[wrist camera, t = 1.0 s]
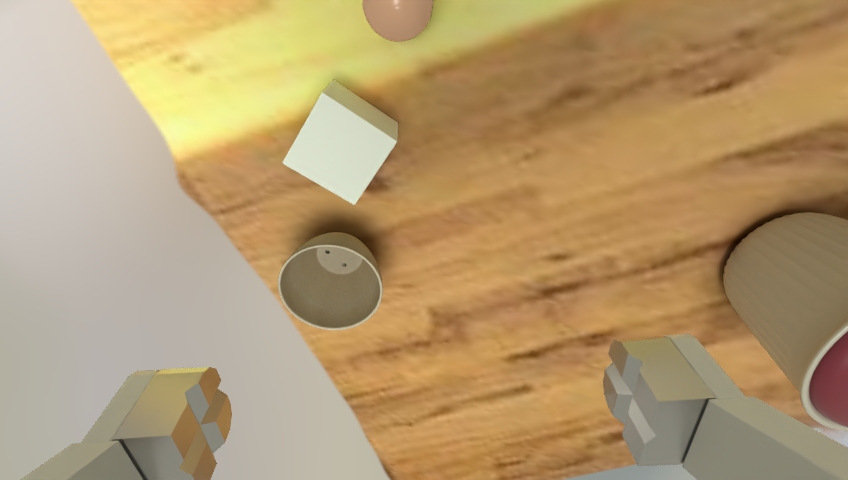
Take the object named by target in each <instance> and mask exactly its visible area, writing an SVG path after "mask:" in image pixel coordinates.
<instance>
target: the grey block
mask: <svg viewBox="0 0 848 480" xmlns="http://www.w3.org/2000/svg"><path fill="white" fill-rule="evenodd" d="M397 137H398V122H396V121H395V120H393V119H392V118H390V117H389V116H387V115H386V114H384V113H383V112H381V111H380V110H378V109H377V108H375V107H374V106H372V105H371V104H369V103H368V102H366V101H365V100H363V99H362V98H360V97H359V96H357V95H356V94H354V93H353V92H351V91H350V90H348V89H347V88H346V87H344V86H343V85H341V84H340V83H338V82H337V81H335V80H334V79H333V80H332V81H331V82H330V83H329V84H328V86H327V87H326V88H325V89H324V91H323V92H322V93H321V95H320V97H319V99H318V100H317V102H316V104H315V106H314V108H313V109H312V111H311V113H310V115H309V117H308V118H307V120H306V122H305V124H304V125H303V127H302V129H301V131H300V133H299V134H298V136H297V138H296V140H295V141H294V143H293V145H292V147H291V149H290V150H289V152H288V154H287V156H286V158H285V159H284V161H283V164H284V165H286V166H288V167H290V168H291V169H293V170H295V171H297V172H298V173H300V174H302V175H303V176H305V177H307V178H309V179H310V180H312V181H314V182H315V183H317V184H319V185H321V186H322V187H324V188H326V189H328V190H329V191H331V192H333V193H334V194H336V195H338V196H340V197H341V198H343V199H345V200H346V201H348V202H350V203H352V204H353V205H355V204H356V202H357V201H358V199H359V198H360V196H361V195H362V193H363V192H364V190H365V189H366V187H367V186H368V184H369V183H370V181H371V180H372V178H373V177H374V175H375V174H376V172H377V171H378V169H379V168H380V167H381V165H382V164H383V162H384V161H385V159H386V158H387V156H388V155H389V153H390V152H391V150H392V149H393V147H394V146H395V144H396V143H397Z"/></svg>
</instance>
